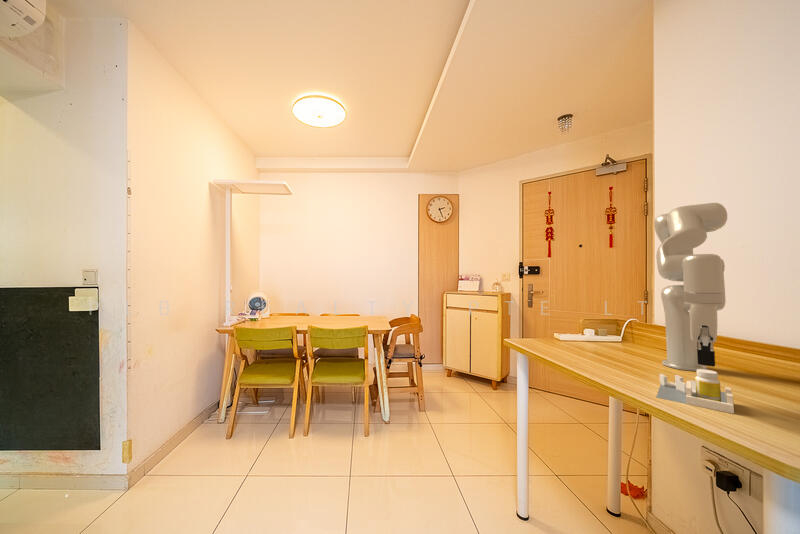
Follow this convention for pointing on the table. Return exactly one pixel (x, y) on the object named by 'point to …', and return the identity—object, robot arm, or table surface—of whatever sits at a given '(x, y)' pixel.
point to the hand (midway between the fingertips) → (706, 360)
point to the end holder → (710, 403)
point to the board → (678, 395)
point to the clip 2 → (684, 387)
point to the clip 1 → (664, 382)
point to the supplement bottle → (707, 385)
